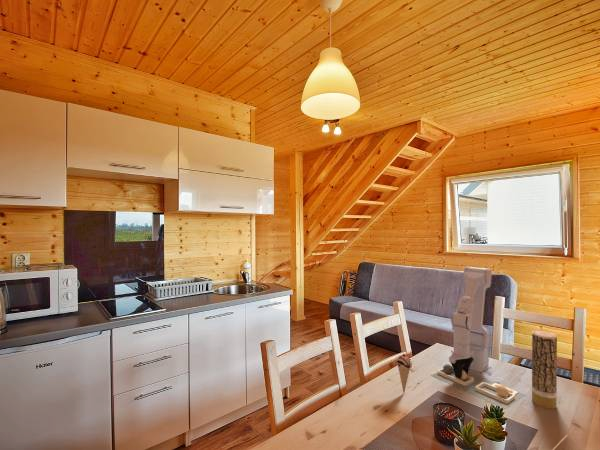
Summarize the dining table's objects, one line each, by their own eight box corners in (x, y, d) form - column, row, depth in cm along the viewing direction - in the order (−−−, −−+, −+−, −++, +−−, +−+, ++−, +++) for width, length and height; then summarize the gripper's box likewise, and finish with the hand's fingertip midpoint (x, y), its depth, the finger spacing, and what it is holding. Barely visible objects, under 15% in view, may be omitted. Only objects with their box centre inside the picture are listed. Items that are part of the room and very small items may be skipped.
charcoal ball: (446, 371, 133) (446, 361, 133) (455, 375, 130) (455, 365, 130) (441, 373, 131) (441, 364, 131) (450, 377, 128) (450, 367, 128)
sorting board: (452, 366, 138) (452, 362, 138) (525, 395, 115) (525, 391, 115) (430, 376, 129) (430, 372, 129) (505, 410, 106) (505, 405, 106)
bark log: (561, 411, 106) (561, 337, 105) (538, 409, 107) (538, 336, 107) (549, 400, 112) (549, 331, 112) (528, 398, 114) (528, 329, 113)
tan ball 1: (459, 376, 129) (459, 366, 129) (468, 380, 125) (469, 370, 125) (453, 379, 126) (453, 369, 126) (463, 383, 123) (463, 373, 123)
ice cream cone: (394, 395, 115) (394, 355, 115) (397, 388, 120) (397, 349, 120) (410, 399, 113) (410, 358, 113) (412, 391, 118) (413, 352, 118)
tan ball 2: (498, 392, 116) (498, 382, 116) (510, 397, 113) (510, 386, 113) (493, 396, 114) (493, 385, 114) (505, 401, 111) (505, 390, 111)
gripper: (461, 335, 133) (461, 367, 133) (441, 343, 125) (441, 376, 125) (478, 341, 127) (478, 374, 127) (459, 349, 119) (458, 384, 119)
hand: (461, 376), depth 126 cm, fingers closed on tan ball 1, 4 cm apart
